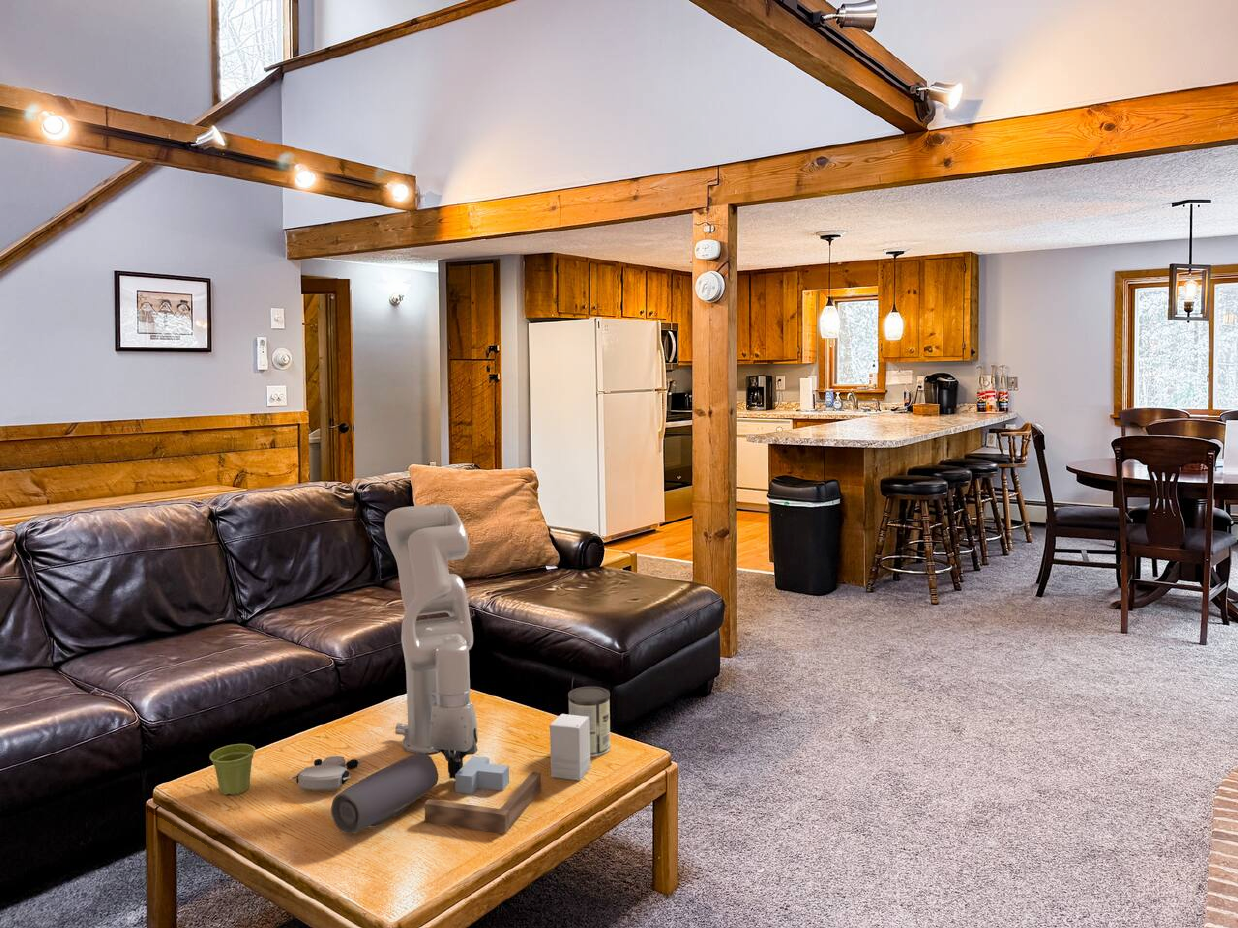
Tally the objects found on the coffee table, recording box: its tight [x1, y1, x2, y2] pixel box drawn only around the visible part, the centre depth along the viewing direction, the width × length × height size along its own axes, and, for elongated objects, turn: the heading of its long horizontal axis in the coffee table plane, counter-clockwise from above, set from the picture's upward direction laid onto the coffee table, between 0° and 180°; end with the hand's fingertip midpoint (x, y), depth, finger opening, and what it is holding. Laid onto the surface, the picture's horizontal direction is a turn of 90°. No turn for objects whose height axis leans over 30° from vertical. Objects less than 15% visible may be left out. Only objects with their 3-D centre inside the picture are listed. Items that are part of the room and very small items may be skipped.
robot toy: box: [289, 755, 363, 791], centre depth 206 cm, size 12×4×15 cm
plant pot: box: [209, 743, 256, 796], centre depth 202 cm, size 9×9×9 cm
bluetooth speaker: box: [330, 753, 439, 835], centre depth 190 cm, size 23×9×10 cm, turn 149°
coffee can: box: [567, 686, 611, 758], centre depth 222 cm, size 10×10×14 cm
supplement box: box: [549, 713, 591, 782], centre depth 209 cm, size 7×7×13 cm
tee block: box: [454, 755, 510, 795], centre depth 204 cm, size 10×10×4 cm
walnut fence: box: [424, 771, 542, 834], centre depth 194 cm, size 18×20×4 cm
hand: (455, 775), depth 206 cm, fingers closed
